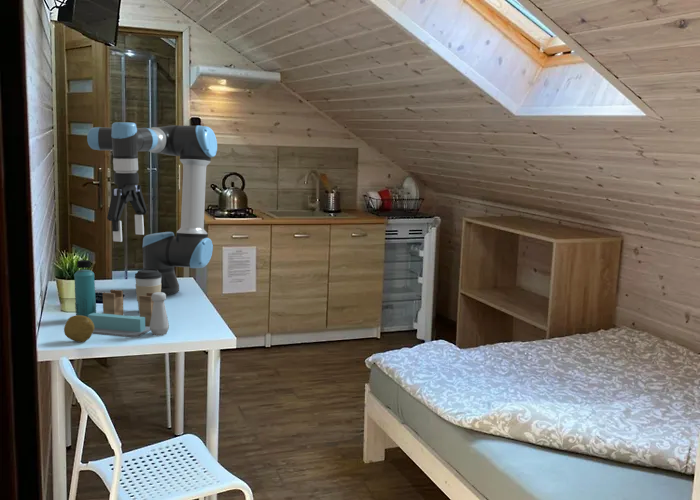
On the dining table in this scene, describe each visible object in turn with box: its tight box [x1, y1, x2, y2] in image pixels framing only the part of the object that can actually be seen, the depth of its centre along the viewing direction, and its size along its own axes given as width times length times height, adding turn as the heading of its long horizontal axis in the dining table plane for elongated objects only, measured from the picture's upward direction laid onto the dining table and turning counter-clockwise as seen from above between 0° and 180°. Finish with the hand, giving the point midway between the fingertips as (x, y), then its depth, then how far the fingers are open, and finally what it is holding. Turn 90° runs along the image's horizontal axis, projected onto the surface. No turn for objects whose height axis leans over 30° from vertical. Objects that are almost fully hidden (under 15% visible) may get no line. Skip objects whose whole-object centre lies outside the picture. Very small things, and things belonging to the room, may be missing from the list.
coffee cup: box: [134, 268, 162, 314], centre depth 243 cm, size 9×9×15 cm
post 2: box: [139, 293, 154, 327], centre depth 227 cm, size 5×4×10 cm
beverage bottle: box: [73, 259, 98, 317], centre depth 230 cm, size 6×7×20 cm
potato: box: [63, 314, 94, 343], centre depth 208 cm, size 7×8×8 cm
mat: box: [92, 326, 151, 338], centre depth 221 cm, size 10×20×1 cm, turn 77°
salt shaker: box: [150, 292, 170, 337], centre depth 217 cm, size 6×6×13 cm
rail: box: [88, 312, 145, 332], centre depth 220 cm, size 3×18×4 cm, turn 77°
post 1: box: [102, 289, 125, 315], centre depth 230 cm, size 5×4×10 cm
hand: (129, 237), depth 227 cm, fingers open, 13 cm apart
